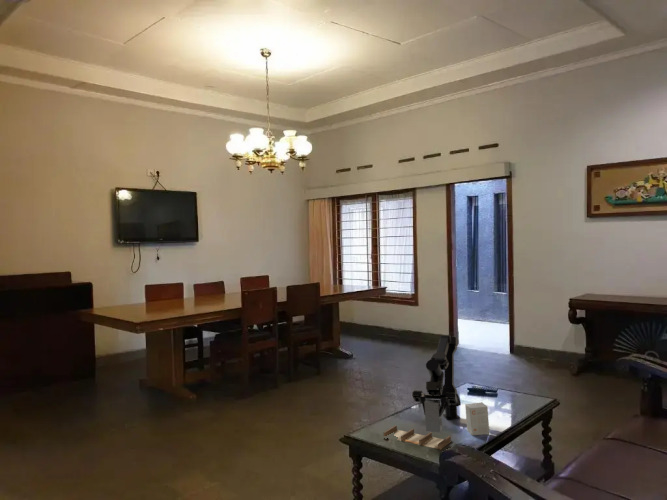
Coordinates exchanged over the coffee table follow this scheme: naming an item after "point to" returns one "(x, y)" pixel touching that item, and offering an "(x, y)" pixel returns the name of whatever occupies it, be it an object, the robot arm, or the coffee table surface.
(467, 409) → the small box
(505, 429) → the coffee table surface
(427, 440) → the slot rack
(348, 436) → the coffee table surface
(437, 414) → the block
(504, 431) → the coffee table surface
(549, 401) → the coffee table surface
